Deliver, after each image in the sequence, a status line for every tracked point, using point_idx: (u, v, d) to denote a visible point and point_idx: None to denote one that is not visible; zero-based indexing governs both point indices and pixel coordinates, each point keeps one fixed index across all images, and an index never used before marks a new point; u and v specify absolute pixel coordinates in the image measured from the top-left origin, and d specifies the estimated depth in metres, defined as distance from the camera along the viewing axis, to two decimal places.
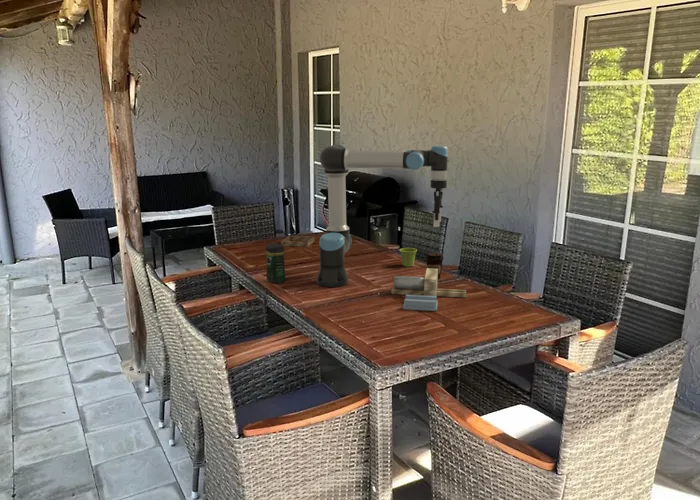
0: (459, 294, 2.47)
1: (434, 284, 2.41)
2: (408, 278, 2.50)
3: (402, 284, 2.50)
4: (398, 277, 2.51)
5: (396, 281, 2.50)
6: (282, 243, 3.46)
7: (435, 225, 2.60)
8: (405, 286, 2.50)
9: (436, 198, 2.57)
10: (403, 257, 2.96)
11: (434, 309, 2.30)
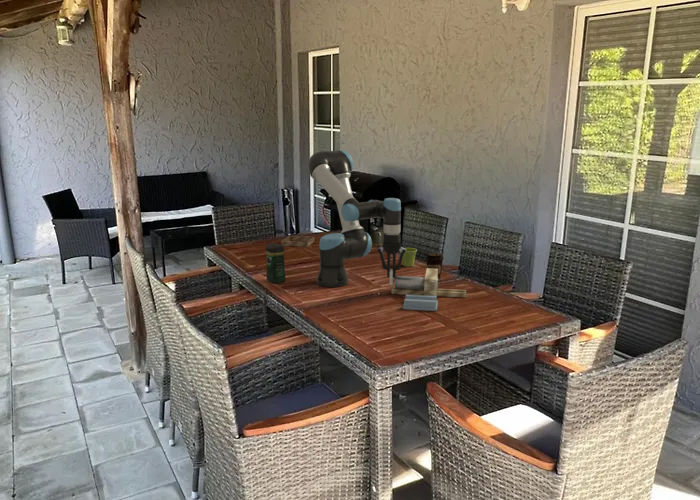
0: (459, 294, 2.47)
1: (434, 284, 2.41)
2: (409, 278, 2.50)
3: (403, 284, 2.50)
4: (399, 277, 2.51)
5: (397, 281, 2.50)
6: (282, 243, 3.46)
7: None
8: (406, 286, 2.50)
9: None
10: (403, 257, 2.96)
11: (434, 309, 2.30)
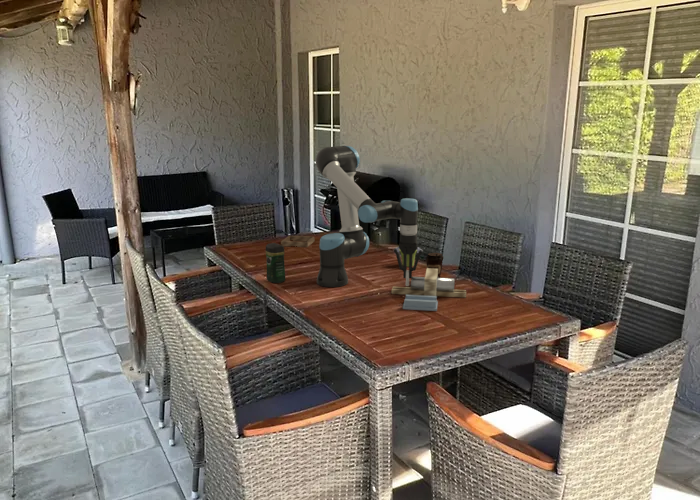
0: (459, 294, 2.47)
1: (434, 284, 2.41)
2: None
3: (420, 285, 2.48)
4: (415, 278, 2.50)
5: (413, 282, 2.49)
6: (282, 243, 3.46)
7: None
8: (423, 287, 2.48)
9: None
10: (403, 257, 2.96)
11: (434, 309, 2.30)
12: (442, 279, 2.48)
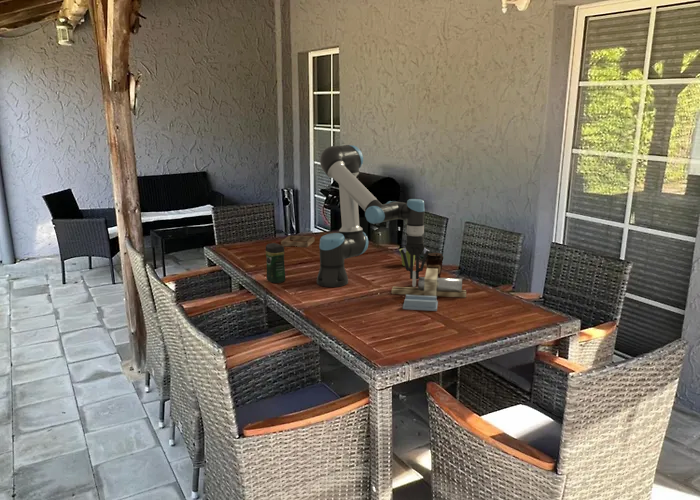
0: (459, 294, 2.47)
1: (434, 284, 2.41)
2: None
3: None
4: (423, 278, 2.49)
5: (421, 282, 2.48)
6: (282, 243, 3.46)
7: None
8: None
9: None
10: None
11: (434, 309, 2.30)
12: (450, 279, 2.47)
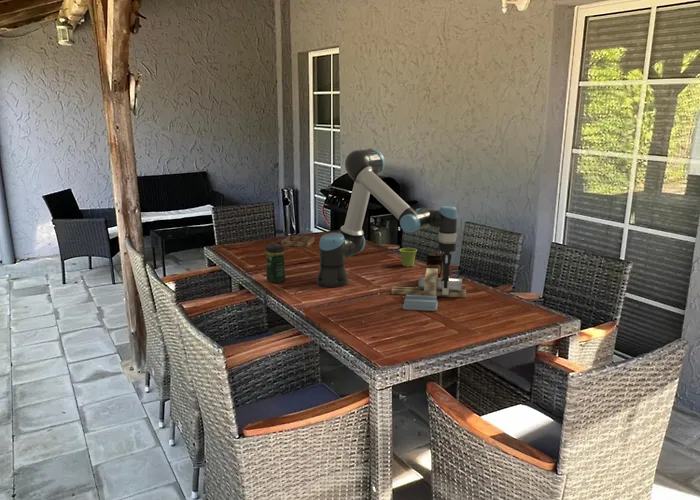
0: (459, 294, 2.47)
1: (434, 284, 2.41)
2: None
3: None
4: (423, 278, 2.49)
5: (421, 282, 2.48)
6: (282, 243, 3.46)
7: (444, 293, 2.46)
8: None
9: (445, 266, 2.41)
10: (403, 257, 2.96)
11: (434, 309, 2.30)
12: (450, 279, 2.47)
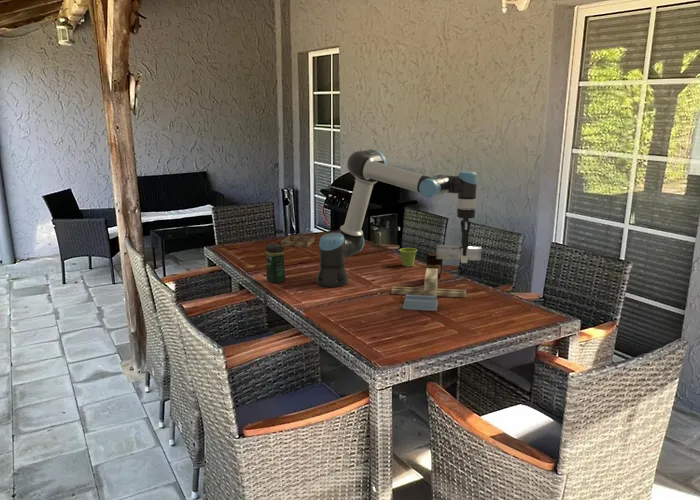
0: (459, 294, 2.47)
1: (434, 284, 2.41)
2: (452, 247, 2.42)
3: (445, 253, 2.41)
4: (441, 246, 2.43)
5: (439, 250, 2.42)
6: (282, 243, 3.46)
7: (463, 261, 2.40)
8: (448, 255, 2.42)
9: (464, 232, 2.35)
10: (403, 257, 2.96)
11: (434, 309, 2.30)
12: (468, 247, 2.41)
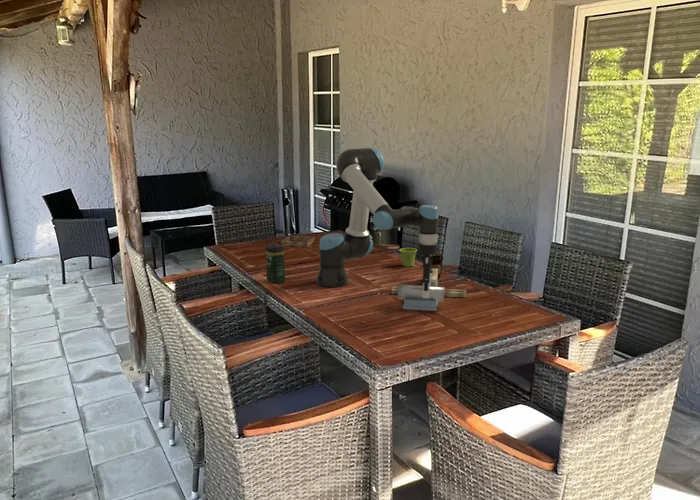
0: (459, 294, 2.47)
1: (434, 284, 2.41)
2: (413, 287, 2.33)
3: (407, 294, 2.33)
4: (402, 286, 2.34)
5: (400, 290, 2.33)
6: (282, 243, 3.46)
7: (424, 296, 2.27)
8: (410, 296, 2.33)
9: (425, 266, 2.24)
10: (403, 257, 2.96)
11: (434, 309, 2.30)
12: (431, 288, 2.32)
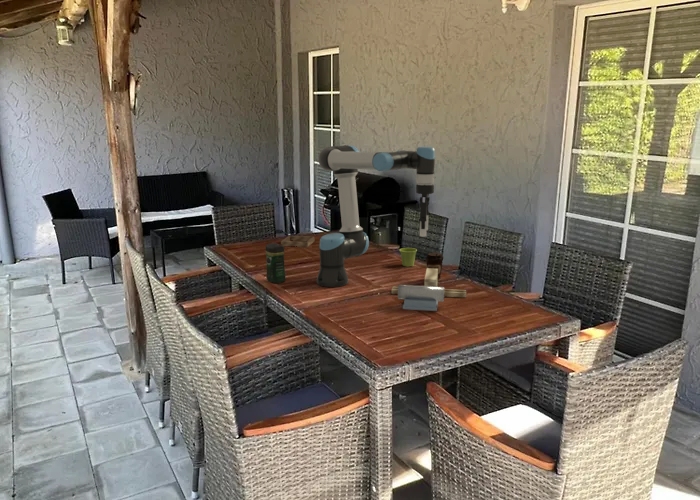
0: (459, 294, 2.47)
1: (434, 284, 2.41)
2: (413, 287, 2.33)
3: (407, 294, 2.33)
4: (402, 286, 2.34)
5: (400, 290, 2.33)
6: (282, 243, 3.46)
7: (421, 234, 2.35)
8: (410, 296, 2.33)
9: (422, 205, 2.31)
10: (403, 257, 2.96)
11: (434, 309, 2.30)
12: (431, 288, 2.32)
